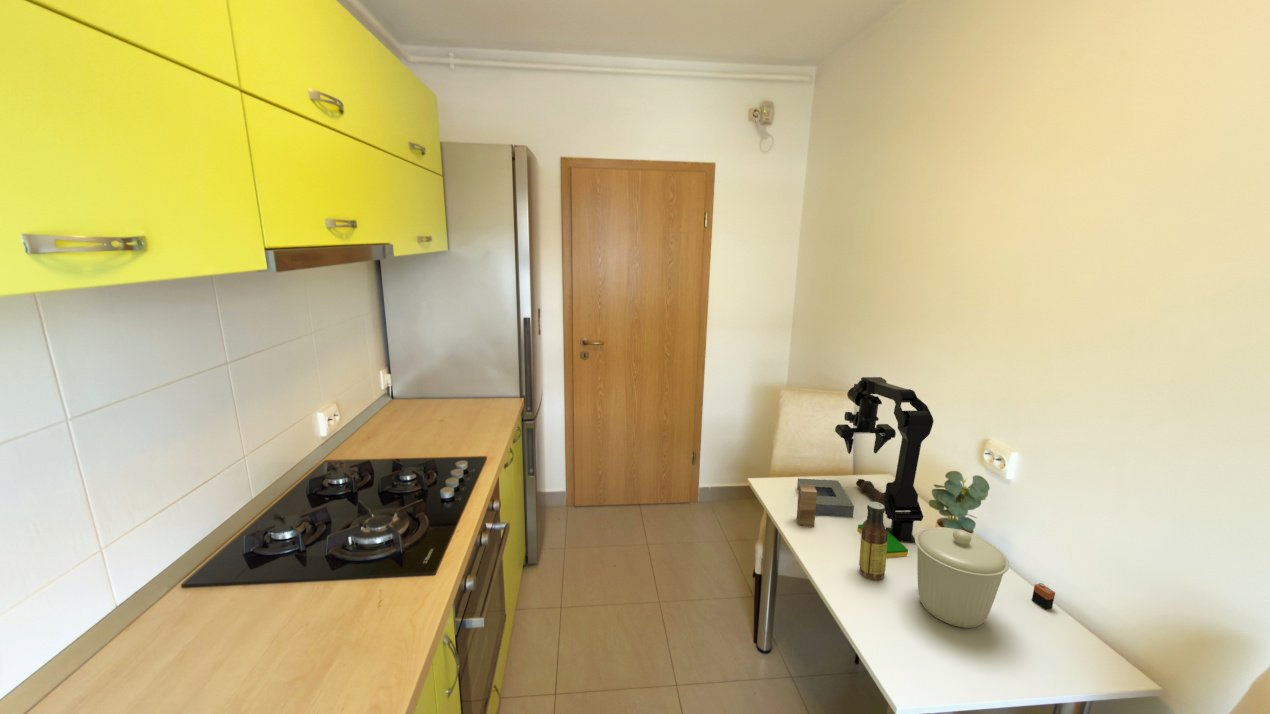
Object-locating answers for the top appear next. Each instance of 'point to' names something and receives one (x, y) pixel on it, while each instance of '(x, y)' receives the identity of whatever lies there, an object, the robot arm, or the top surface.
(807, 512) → the walnut block
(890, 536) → the dish sponge
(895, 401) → the robot arm
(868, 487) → the bolt
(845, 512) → the hole plate
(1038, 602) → the battery
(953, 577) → the canister
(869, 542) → the sauce bottle
